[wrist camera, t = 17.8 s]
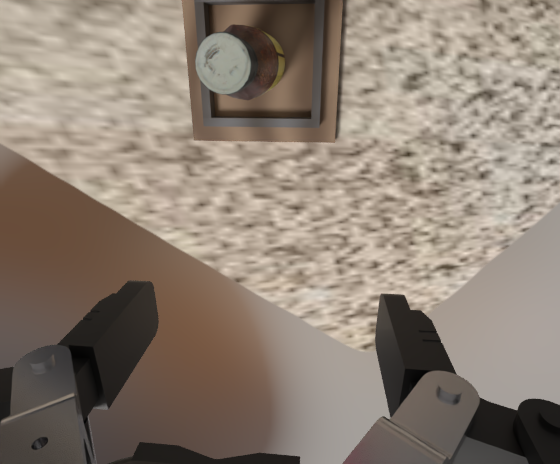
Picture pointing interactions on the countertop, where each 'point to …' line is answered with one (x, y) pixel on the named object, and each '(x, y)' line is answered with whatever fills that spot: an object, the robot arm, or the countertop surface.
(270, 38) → the sauce bottle
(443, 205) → the countertop surface
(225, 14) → the socket board
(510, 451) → the robot arm
